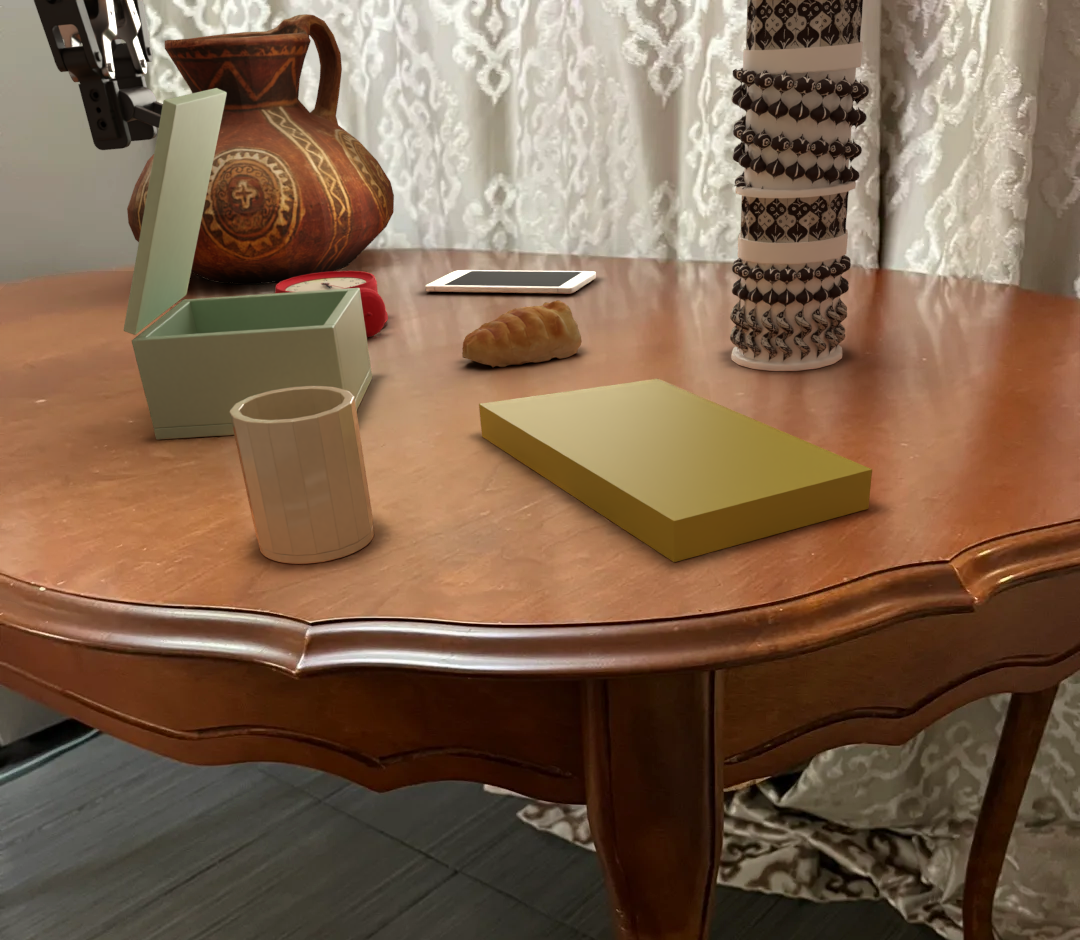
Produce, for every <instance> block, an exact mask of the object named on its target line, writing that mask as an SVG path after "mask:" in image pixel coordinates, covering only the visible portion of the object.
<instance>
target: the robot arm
mask: <svg viewBox="0 0 1080 940" xmlns="http://www.w3.org/2000/svg"><path fill="white" fill-rule="evenodd" d="M33 2H34V5H35V8H36V11H37V14H38V17H39V20H40V23H41V26H42V29H43V32H44V34H45V37H46V40H47V43H48V46H49V49H50V51H51V55H52V57H53V60H54V63H55V66H56V68H57V70H58V71H59V73H66V72H67V73H68V74H69V76H70V78H71V81H73V83H78V85H77V86H78V88H79V92H80V96H81V100H82V105H83V107H84V111H85V115H86V119H87V123H88V127H89V131H90V134H91V138H92V141H93V144H94V147H95V148H96V149H97V150H100V151H109V150H110V151H111V150H121V149H126V148H128V147H129V146H130V145H131V144H132V142H140V141H149V140H153V139H155V138H157V135H158V128H157V127H155V126H152V125H150V124H147V123H145V122H142V121H140V120H133V121H129V122H127V121H126V117H125V113H124V108H123V104H122V100H121V96H120V92H119V90H121V89H126V88H132V87H138V86H144V87H146V88H148V86H147V82H146V77H145V75H146V74H147V73H148V64H147V63H151V62H153V50H152V45H151V40H150V39H151V38H150V34H149V28H148V21H147V16H146V10H145V5H144V0H33ZM122 41H124V42H122Z"/></svg>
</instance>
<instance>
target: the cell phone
mask: <svg viewBox="0 0 1080 940" xmlns="http://www.w3.org/2000/svg"><path fill="white" fill-rule="evenodd" d="M596 278H597V272H596V271H590V270H501V269H500V270H494V269H493V270H486V269H483V270H481V269H480V270H479V269H459V270H458V269H457V270H454V271H452V272H450V273H448V274H445V275H444V276H441V277H440V278H437V279H435V280H433V281H432V282H430V283H427V284H425V291H426V292H448V293H449V292H450V293H452V292H453V293H507V294H508V293H510V294H512V293H514V294H515V293H516V294H565V295H567V294H568V295H569V294H574V293H575V292H576V291H578V290H581V288H584V286H586V285H587V284H589V283H591V282H592V281H593V280H595V279H596Z"/></svg>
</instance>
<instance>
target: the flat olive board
mask: <svg viewBox="0 0 1080 940" xmlns="http://www.w3.org/2000/svg"><path fill="white" fill-rule="evenodd" d="M478 408H479V409H478V411H479V419H480V431H481V437H482V438H483V439H485V440H486V441H488V442H490V443H491V444H493V445H494V446H496V447H497V448H498V449H500V450H502V451H503V452H505V453H506V454H508V455H510V456H511V457H513V458H514V459H515V460H517V461H518V462H520V463H521V464H522V465H525V466H526V467H527V468H529V469H530V470H532V471H534V472H535V473H537V474H538V475H540V476H541V477H543V478H545V479H546V480H547V481H549V482H551V483H552V484H554V485H555V486H557V488H559V489H561V490H563V491H564V492H566V493H567V494H569V495H571V496H572V497H574V498H575V499H577V500H578V501H579V502H580V503H583V504H584V505H585V506H587V507H589V508H590V509H591V510H593V511H595V512H596V513H598V514H600V515H601V516H602V517H604V518H605V519H607V520H608V521H610V522H612V523H613V524H615V525H616V526H618V527H619V528H621V529H622V530H623V531H625V532H627V533H628V534H630V535H632V536H633V537H635V538H636V539H638V540H639V541H640V542H642V543H643V544H645V545H646V546H648V547H650V548H652V549H653V550H655V551H656V552H658V553H659V554H660V555H662V556H664V557H665V558H667V559H669V560H670V561H671V562H673V563H676V562H681V561H684V560H687V559H691V558H694V557H698V556H702V555H705V554H709V553H713V552H716V551H717V552H718V551H720V550H725V549H727V548H731V547H734V546H738V545H742V544H746V543H749V542H752V541H757V540H760V539H764V538H767V537H771V536H775V535H778V534H782V533H785V532H789V531H792V530H795V529H796V530H797V529H799V528H800V529H801V528H804V527H807V526H810V525H814V524H818V523H821V522H825V521H829V520H832V519H836V518H840V517H844V516H846V515H850V514H854V513H857V512H863V511H865V510H868V509H869V507H870V506H869V505H870V499H871V498H870V496H871V487H872V476H873V468H871V467H868V466H866V465H863V464H861V463H858V462H856V461H853V460H852V459H849V458H846V457H845V456H842V455H840V454H838V453H835V452H832V451H831V450H828V449H826V448H823V447H820V446H818V445H816V444H814V443H811V442H809V441H807V440H804V439H802V438H800V437H798V436H795V435H792V434H790V433H788V432H785V431H782V430H780V429H778V428H776V427H773V426H771V425H769V424H766V423H765V422H762V421H759V420H757V419H756V418H755V419H754V418H752V417H750V416H747V415H745V414H743V413H740V412H738V411H735V410H734V409H731V408H729V407H727V406H725V405H721V404H719V403H717V402H715V401H713V400H710V399H707V398H705V397H702V396H700V395H698V394H695V393H693V392H691V391H689V390H686V389H683V388H681V387H680V386H677V385H674V384H672V383H670V382H667V381H665V380H662V379H660V378H652V379H644V380H636V381H631V382H624V383H623V382H622V383H616V384H610V385H609V384H608V385H602V386H595V387H588V388H580V389H574V390H567V391H559V392H554V393H553V392H552V393H545V394H539V395H531V396H525V397H518V398H511V399H510V398H509V399H503V400H495V401H489V402H482V403H481V402H480V403H478Z"/></svg>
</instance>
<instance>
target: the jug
mask: <svg viewBox="0 0 1080 940" xmlns="http://www.w3.org/2000/svg"><path fill="white" fill-rule="evenodd" d="M310 37H311V38H310ZM311 39H312V40H313V43H314V46H315V48H316V51H317V55H318V61H319V65H320V66H319V80H318V81H319V82H318V86H317V94H316V100H315V104H314V108H313V109H312V110H311V111H309V110H308V109H307V107H306V106H305V105H304V104H303V103H302V102H301V100H299V94H300V80H301V75H302V72H303V68H304V64H305V59H306V56H307V54H308V50H309V48H310V44H311ZM164 50H165V52H166V54H168V56H169V58H170V59H171V61H172V63H173V64H174V66H175V67H176V69H177V71H178V72H179V73H180V75H181V77H182V78H183V80H184V81H185V83H186V84H187V86H188V88H189V89H190V91H191V94H192V93H197V92H201V91H205V90H210V89H214V88H217V89H220V90H222V91H225V92H226V93H227V95H226V100H225V105H224V110H223V115H222V120H221V125H220V130H219V135H218V140H217V145H216V150H215V155H214V159H213V164H212V169H211V174H210V179H209V184H208V189H207V194H206V199H205V204H204V209H203V214H202V219H201V224H200V229H199V234H198V239H197V244H196V249H195V254H194V259H193V264H192V269H191V274H194V275H196V276H199V277H200V278H202V279H204V280H207V281H209V282H214V283H220V284H231V285H250V284H251V285H254V284H256V285H257V284H271V283H279V282H281V281H283V280H286V279H289V278H293V277H297V276H302V275H307V274H313V273H320V272H331V271H339V270H340V269H343V268H346V267H348V266H349V265H350V264H351V263H352V262H353V261H354V260H355V259H356V258H358V256H359V255H361V253H363V251H365V249H366V248H368V246H369V245H370V244H372V242H374V240H375V239H377V237H378V236H379V235H380V234H381V233H382V232H383V231H384V230H385V229H386V228H387V227H388V224H389V222H390V221H391V218H392V216H393V214H394V211H395V208H394V207H395V206H394V205H395V195H394V190H393V186H392V182H391V180H390V179H389V177H388V175H387V174H386V172H385V171H384V169H383V168H382V166H381V164H380V163H379V161H378V160H377V159H376V157H375V156H373V154H372V153H371V152H370V151H369V150H368V149H367V148H366V147H365V146H364V144H362V142H361V141H360V140H358V138H356V137H355V136H353V135H352V134H351V133H349V132H348V131H347V130H345V129H344V128H343V127H341V126H340V125H339V122H338V118H337V111H338V106H339V105H338V104H339V97H340V89H341V81H342V73H343V72H342V71H343V67H342V66H343V65H342V55H341V51H340V48H339V46H338V43H337V40H336V37H335V34H334V33H333V31H332V30H331V29H330V27H329V26H328V24H327V22H326V21H325V20H324V19H322V18H319V17H318V16H316V15H314V14H306V13H305V14H297V15H294V16H292V17H289V18H284V19H283V20H282V21H281V22H280V23H279V24H278V25H277V26H276V27H274V28H271V29H269V30H265V31H264V30H263V31H242V32H233V33H222V34H214V35H206V36H205V35H204V36H199V37H191V38H179V39H166V40H164ZM153 158H154V153H153V154H152V155H151V156H150V157H149V158H148V159H147V161H146V162H145V165H144V167H143V169H142V170H141V173H140V175H139V177H137V180H136V182H135V184H134V187H133V190H132V193H131V196H130V199H129V202H128V205H127V208H126V212H127V223H128V226H129V227H130V230H131V233H132V235H133V238H134V240H135V241H136V242H137V243H139V238H140V233H141V227H142V221H143V215H144V210H145V204H146V198H147V192H148V187H149V181H150V175H151V169H152V164H153Z"/></svg>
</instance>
